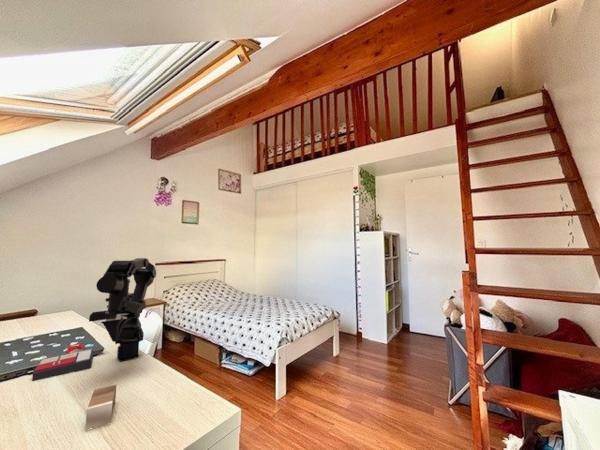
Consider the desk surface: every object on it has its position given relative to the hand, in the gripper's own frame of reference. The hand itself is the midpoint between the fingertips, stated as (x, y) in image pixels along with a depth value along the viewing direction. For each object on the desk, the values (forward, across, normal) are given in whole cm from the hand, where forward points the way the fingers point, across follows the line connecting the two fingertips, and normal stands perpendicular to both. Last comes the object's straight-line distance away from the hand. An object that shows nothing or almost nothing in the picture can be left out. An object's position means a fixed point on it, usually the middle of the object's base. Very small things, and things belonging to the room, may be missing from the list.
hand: (114, 341), depth 86 cm
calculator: (+8, +10, +23) cm, 26 cm away
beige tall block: (+14, -12, -6) cm, 19 cm away
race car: (+5, +21, +29) cm, 36 cm away
